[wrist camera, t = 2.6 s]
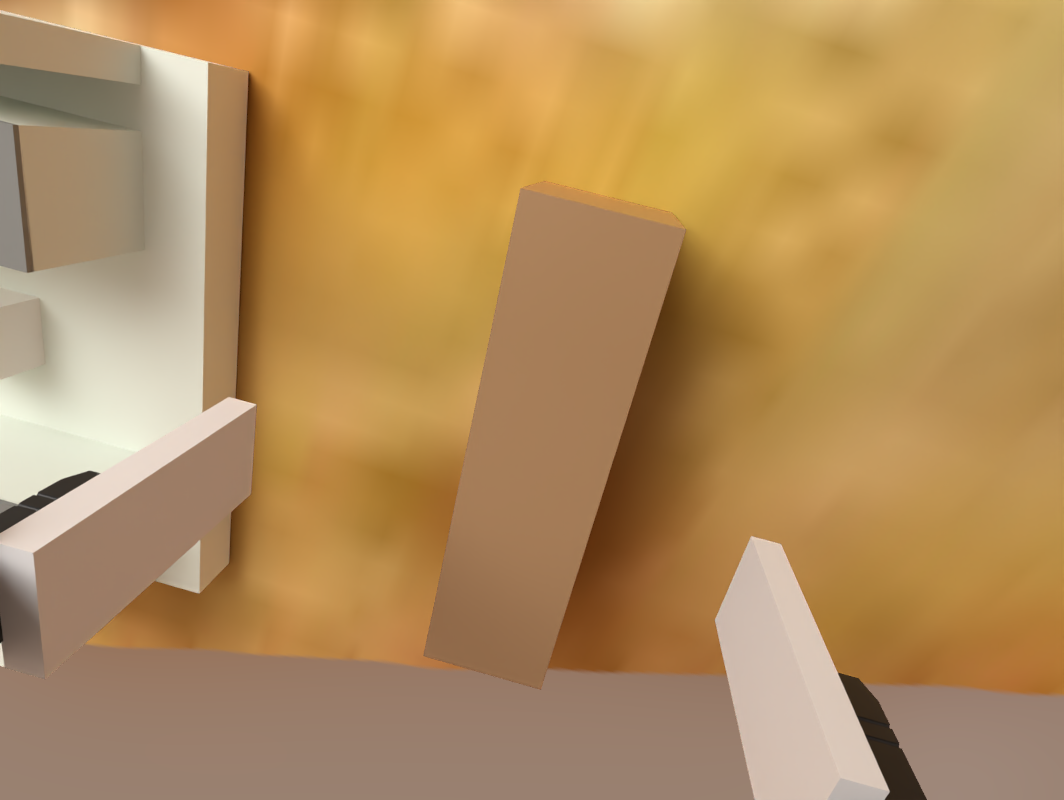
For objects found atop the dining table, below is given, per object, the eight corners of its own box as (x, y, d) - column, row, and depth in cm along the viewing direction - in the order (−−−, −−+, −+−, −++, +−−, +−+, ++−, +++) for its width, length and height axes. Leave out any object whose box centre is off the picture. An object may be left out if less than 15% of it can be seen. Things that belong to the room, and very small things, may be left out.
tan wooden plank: (544, 180, 19) (518, 187, 15) (671, 211, 19) (686, 229, 14) (459, 563, 25) (421, 655, 20) (556, 590, 25) (540, 689, 20)
